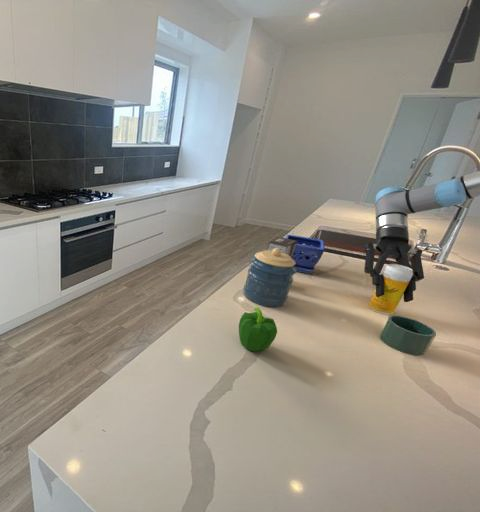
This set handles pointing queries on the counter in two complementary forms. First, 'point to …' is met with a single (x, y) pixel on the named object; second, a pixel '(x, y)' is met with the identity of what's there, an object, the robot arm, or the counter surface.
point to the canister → (269, 278)
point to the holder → (407, 335)
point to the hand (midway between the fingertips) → (394, 298)
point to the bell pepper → (256, 331)
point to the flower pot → (306, 253)
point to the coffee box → (283, 245)
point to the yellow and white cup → (391, 289)
